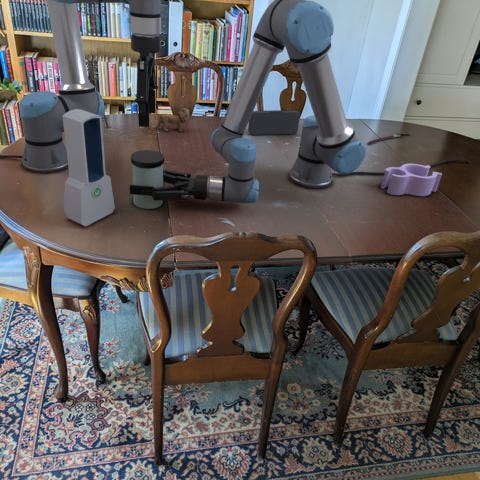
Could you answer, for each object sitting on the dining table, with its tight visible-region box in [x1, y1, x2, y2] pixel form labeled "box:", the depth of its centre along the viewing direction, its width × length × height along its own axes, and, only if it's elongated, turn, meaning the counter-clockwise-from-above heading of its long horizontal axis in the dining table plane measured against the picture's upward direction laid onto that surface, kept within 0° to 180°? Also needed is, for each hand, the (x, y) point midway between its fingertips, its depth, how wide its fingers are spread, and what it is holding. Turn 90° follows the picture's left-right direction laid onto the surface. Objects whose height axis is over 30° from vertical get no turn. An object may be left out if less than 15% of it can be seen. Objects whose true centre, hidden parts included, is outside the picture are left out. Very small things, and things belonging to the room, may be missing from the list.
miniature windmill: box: [85, 51, 110, 128], centre depth 183 cm, size 9×8×30 cm
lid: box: [130, 149, 165, 168], centre depth 136 cm, size 10×10×2 cm
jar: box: [131, 163, 164, 210], centre depth 140 cm, size 9×9×15 cm
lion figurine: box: [154, 107, 190, 132], centre depth 195 cm, size 15×5×9 cm, turn 110°
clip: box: [380, 163, 443, 197], centre depth 168 cm, size 20×12×7 cm, turn 109°
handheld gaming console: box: [247, 109, 301, 136], centre depth 202 cm, size 23×3×10 cm, turn 108°
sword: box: [367, 133, 409, 145], centre depth 213 cm, size 31×3×1 cm, turn 126°
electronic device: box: [63, 109, 116, 227], centre depth 126 cm, size 12×8×30 cm, turn 148°
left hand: (147, 119), depth 130 cm, fingers open, 11 cm apart
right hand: (132, 182), depth 140 cm, fingers closed on jar, 9 cm apart
